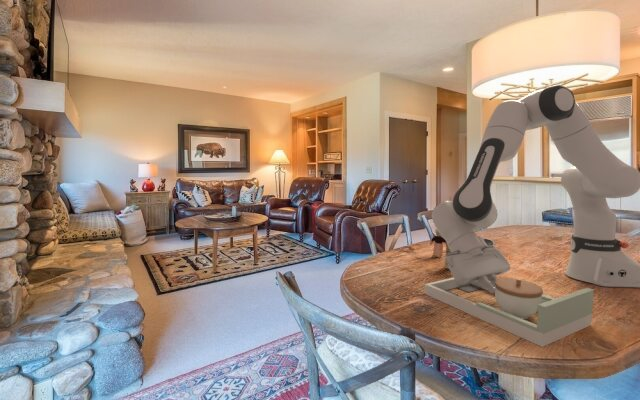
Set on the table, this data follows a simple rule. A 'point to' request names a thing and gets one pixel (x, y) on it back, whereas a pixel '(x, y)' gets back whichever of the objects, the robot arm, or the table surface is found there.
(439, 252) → the grandmother figurine
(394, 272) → the table surface
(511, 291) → the lidded jar
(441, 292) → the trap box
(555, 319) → the open rectangular frame
